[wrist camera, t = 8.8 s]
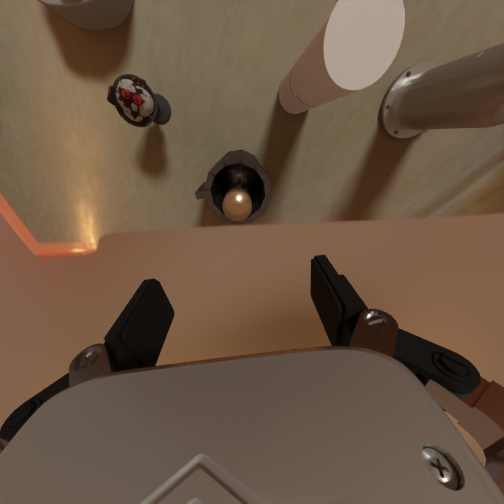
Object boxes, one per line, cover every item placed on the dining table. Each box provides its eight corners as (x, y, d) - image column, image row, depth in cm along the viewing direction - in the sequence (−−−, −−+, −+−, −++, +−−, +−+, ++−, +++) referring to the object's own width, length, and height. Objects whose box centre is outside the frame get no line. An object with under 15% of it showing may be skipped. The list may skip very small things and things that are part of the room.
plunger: (253, 157, 43) (261, 173, 24) (257, 192, 46) (267, 228, 28) (219, 162, 43) (202, 182, 25) (226, 196, 47) (216, 235, 28)
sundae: (182, 109, 39) (153, 96, 27) (163, 136, 42) (128, 136, 29) (152, 78, 37) (105, 48, 24) (134, 109, 39) (82, 96, 26)
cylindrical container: (296, 122, 41) (355, 108, 20) (271, 96, 39) (307, 48, 18) (321, 88, 39) (420, 30, 17) (296, 58, 36) (374, -54, 15)
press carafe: (259, 146, 44) (267, 151, 30) (264, 195, 49) (273, 218, 35) (201, 156, 44) (182, 165, 30) (212, 203, 50) (201, 229, 36)
